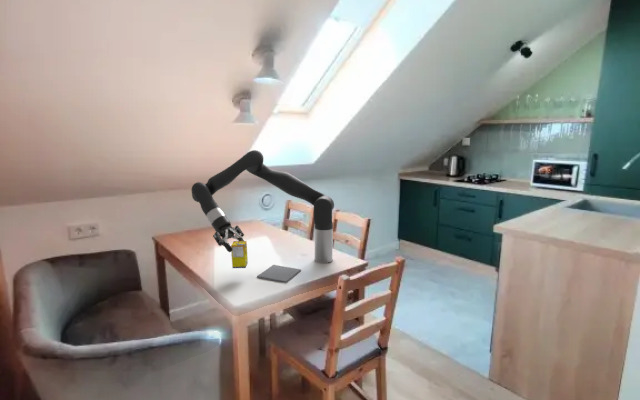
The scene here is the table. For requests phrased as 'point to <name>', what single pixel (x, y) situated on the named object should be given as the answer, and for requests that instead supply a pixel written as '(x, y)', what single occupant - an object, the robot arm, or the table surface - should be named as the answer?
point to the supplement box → (239, 254)
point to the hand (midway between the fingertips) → (237, 248)
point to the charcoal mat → (279, 273)
